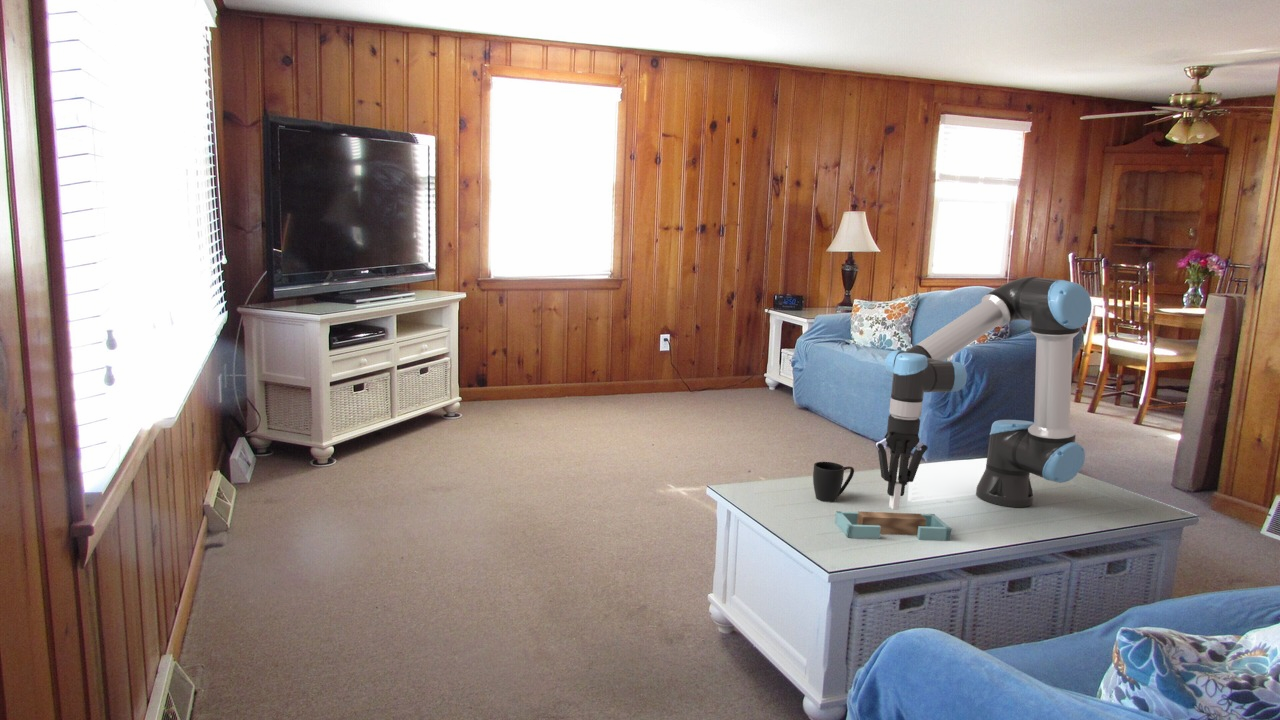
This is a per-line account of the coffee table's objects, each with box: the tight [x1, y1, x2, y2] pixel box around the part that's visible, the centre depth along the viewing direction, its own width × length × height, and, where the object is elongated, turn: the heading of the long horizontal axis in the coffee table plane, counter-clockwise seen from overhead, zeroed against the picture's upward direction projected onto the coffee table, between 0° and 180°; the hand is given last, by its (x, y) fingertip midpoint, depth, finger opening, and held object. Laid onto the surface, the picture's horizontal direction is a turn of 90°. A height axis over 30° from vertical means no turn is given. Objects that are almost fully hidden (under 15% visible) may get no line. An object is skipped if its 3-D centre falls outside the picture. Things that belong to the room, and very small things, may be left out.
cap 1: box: [834, 510, 881, 540], centre depth 215 cm, size 8×10×3 cm
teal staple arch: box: [913, 512, 953, 541], centre depth 216 cm, size 8×10×3 cm
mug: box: [812, 461, 855, 503], centre depth 238 cm, size 8×12×10 cm
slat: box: [857, 511, 926, 536], centre depth 216 cm, size 16×4×4 cm, turn 93°
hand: (893, 507), depth 215 cm, fingers closed
